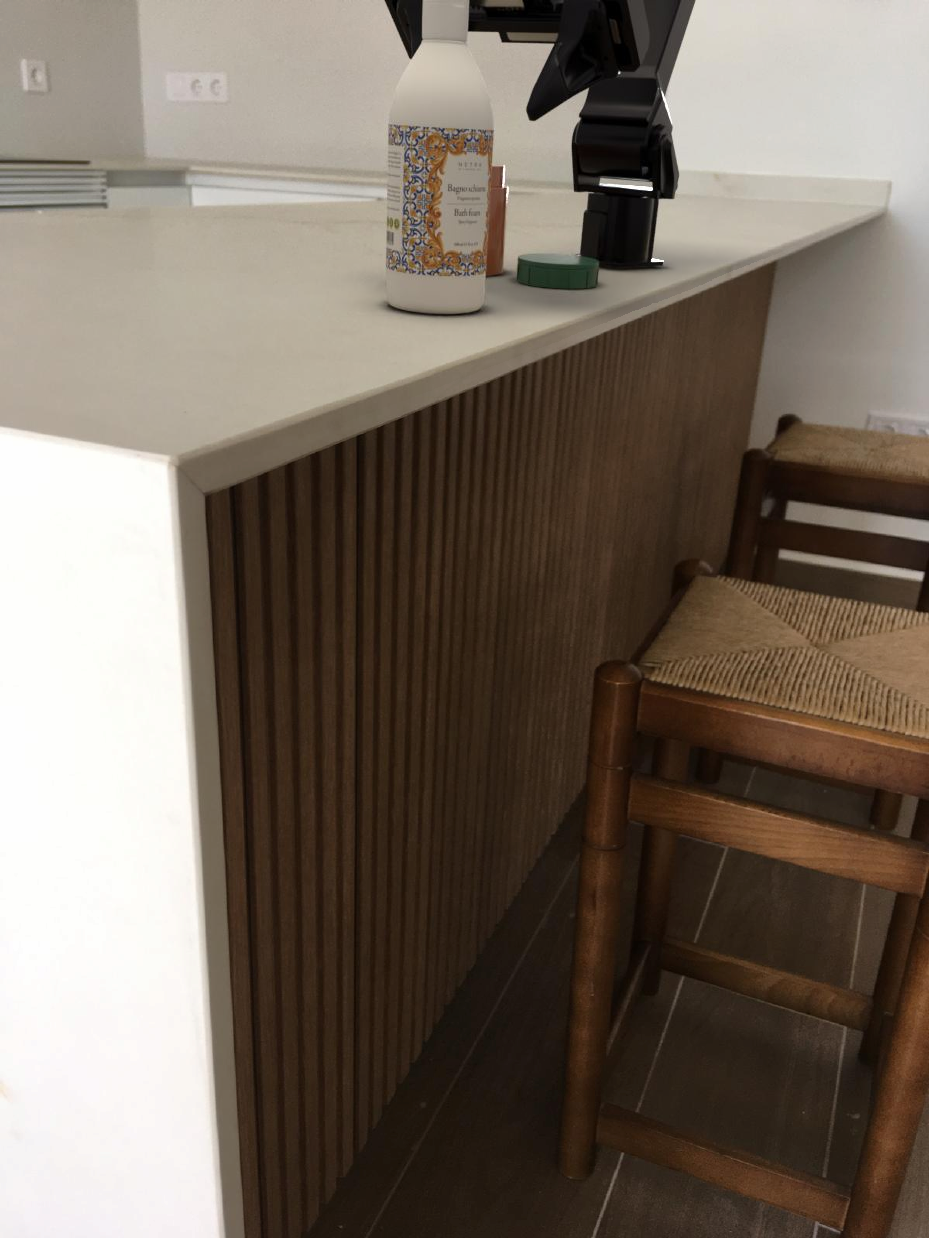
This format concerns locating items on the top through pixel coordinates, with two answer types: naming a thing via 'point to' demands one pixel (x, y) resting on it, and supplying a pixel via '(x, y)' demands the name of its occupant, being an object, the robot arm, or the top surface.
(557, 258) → the lid
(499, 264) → the jar
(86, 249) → the top surface
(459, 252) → the bath foam
